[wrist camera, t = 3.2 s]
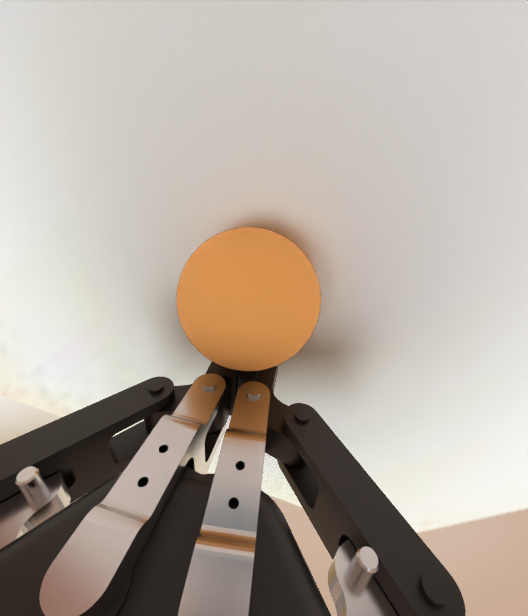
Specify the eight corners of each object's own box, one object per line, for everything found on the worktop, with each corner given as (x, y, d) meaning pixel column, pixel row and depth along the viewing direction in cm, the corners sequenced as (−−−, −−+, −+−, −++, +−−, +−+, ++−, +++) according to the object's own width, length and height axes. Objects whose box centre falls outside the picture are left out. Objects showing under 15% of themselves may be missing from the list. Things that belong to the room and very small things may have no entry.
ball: (205, 209, 12) (134, 237, 8) (330, 223, 12) (339, 264, 7) (208, 315, 15) (155, 388, 10) (310, 332, 14) (306, 417, 10)
